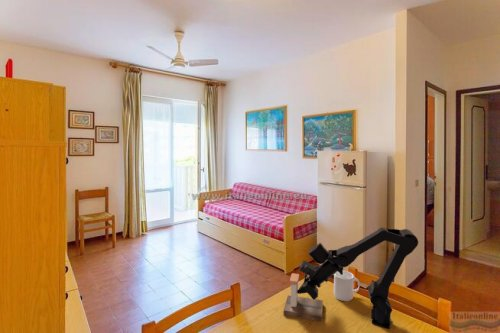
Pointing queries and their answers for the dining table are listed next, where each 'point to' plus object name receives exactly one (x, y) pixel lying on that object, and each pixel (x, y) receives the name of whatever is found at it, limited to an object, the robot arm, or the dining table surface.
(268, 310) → the dining table surface
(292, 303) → the fader tab
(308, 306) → the fader console
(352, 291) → the mug
